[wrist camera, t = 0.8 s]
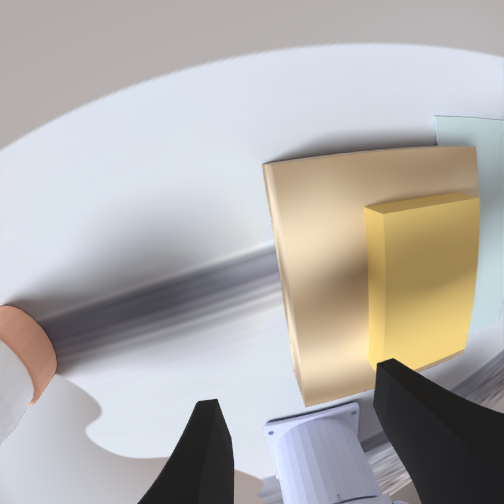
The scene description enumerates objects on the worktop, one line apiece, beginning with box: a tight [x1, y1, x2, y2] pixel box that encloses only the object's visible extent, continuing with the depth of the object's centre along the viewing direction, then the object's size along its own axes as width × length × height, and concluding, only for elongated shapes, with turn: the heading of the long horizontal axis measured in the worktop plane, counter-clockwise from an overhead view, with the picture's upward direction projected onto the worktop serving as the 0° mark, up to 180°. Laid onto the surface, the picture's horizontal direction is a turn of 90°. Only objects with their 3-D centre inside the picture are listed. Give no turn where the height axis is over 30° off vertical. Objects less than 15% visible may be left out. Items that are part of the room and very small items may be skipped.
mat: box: [433, 116, 504, 335], centre depth 19 cm, size 18×8×1 cm, turn 10°
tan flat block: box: [262, 146, 479, 407], centre depth 17 cm, size 14×12×4 cm
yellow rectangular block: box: [364, 193, 480, 372], centre depth 14 cm, size 9×6×2 cm, turn 10°
